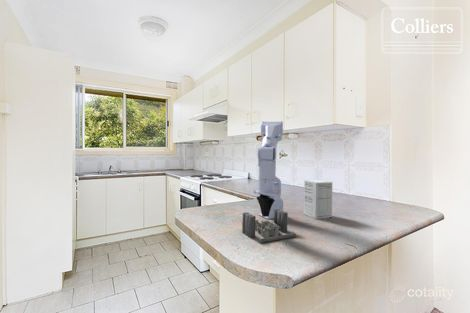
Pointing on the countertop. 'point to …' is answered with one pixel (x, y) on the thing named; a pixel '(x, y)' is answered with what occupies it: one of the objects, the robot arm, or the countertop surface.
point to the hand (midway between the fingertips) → (265, 215)
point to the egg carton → (267, 228)
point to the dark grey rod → (276, 238)
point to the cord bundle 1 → (248, 225)
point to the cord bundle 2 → (281, 219)
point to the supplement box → (318, 199)
